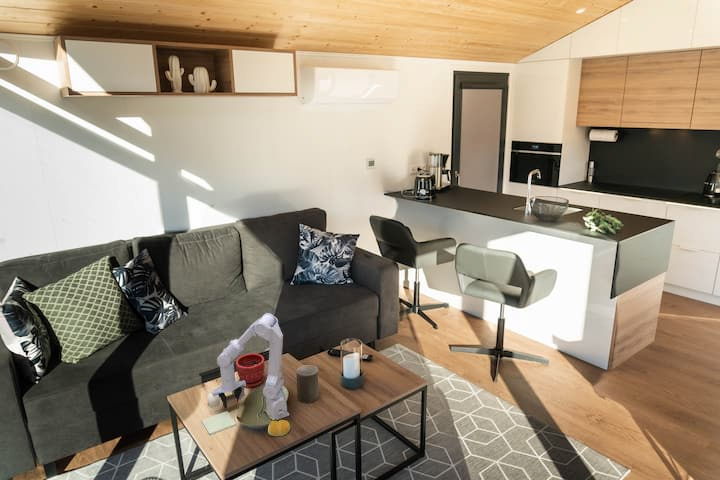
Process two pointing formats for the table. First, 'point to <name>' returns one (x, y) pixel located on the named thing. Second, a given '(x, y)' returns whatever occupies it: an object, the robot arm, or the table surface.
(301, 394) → the pillar candle
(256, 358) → the plant pot
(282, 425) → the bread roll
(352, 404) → the table surface
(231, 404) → the walnut block
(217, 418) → the plate
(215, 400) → the white rounded dome
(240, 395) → the grey metal block
